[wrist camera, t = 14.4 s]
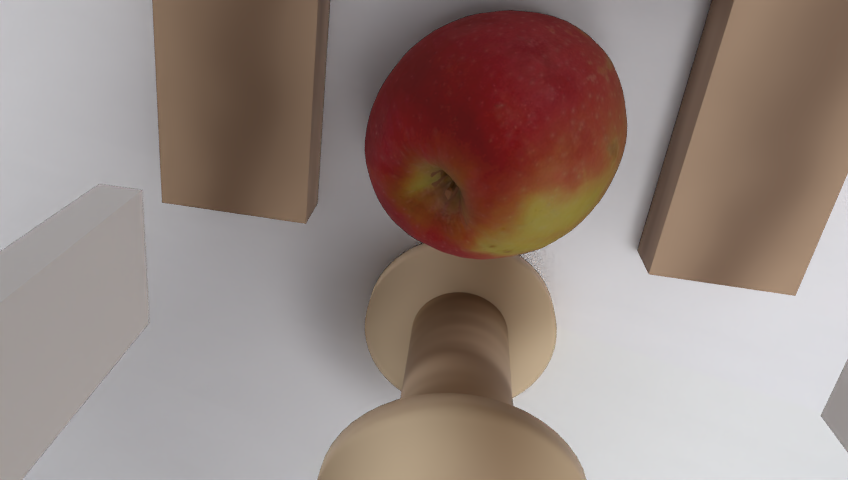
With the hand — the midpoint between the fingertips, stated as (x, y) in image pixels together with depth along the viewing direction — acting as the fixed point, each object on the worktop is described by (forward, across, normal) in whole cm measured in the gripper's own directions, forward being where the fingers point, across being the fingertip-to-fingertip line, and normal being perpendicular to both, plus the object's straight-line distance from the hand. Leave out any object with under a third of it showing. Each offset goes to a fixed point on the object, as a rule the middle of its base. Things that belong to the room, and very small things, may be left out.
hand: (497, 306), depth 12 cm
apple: (+14, 0, 0) cm, 14 cm away
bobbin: (+14, +1, -9) cm, 17 cm away
